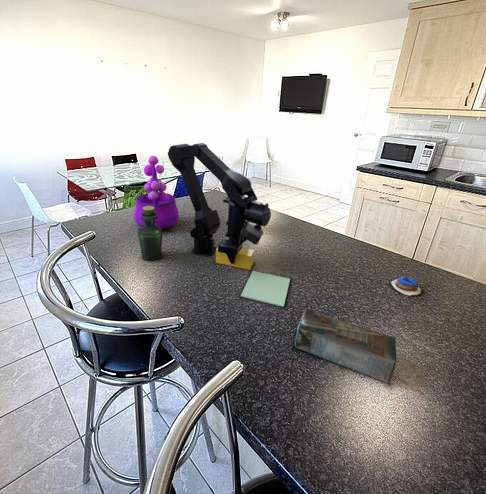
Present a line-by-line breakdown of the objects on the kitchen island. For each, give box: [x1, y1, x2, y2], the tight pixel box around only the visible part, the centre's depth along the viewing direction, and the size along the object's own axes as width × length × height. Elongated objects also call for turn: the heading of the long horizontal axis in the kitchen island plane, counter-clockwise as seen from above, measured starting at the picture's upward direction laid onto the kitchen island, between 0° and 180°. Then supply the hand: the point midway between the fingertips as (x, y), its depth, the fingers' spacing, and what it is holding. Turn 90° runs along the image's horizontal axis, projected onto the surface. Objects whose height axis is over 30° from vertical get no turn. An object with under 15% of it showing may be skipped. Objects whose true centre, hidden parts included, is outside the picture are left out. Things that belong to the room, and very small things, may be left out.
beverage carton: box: [294, 308, 397, 384], centre depth 63 cm, size 8×19×7 cm, turn 61°
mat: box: [240, 270, 291, 308], centre depth 86 cm, size 12×14×1 cm
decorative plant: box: [133, 155, 180, 230], centre depth 120 cm, size 19×18×30 cm
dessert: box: [390, 274, 422, 296], centre depth 87 cm, size 8×7×6 cm
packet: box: [215, 247, 255, 271], centre depth 98 cm, size 12×4×5 cm, turn 69°
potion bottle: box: [137, 206, 163, 262], centre depth 98 cm, size 8×8×18 cm
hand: (234, 260), depth 99 cm, fingers closed on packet, 4 cm apart
